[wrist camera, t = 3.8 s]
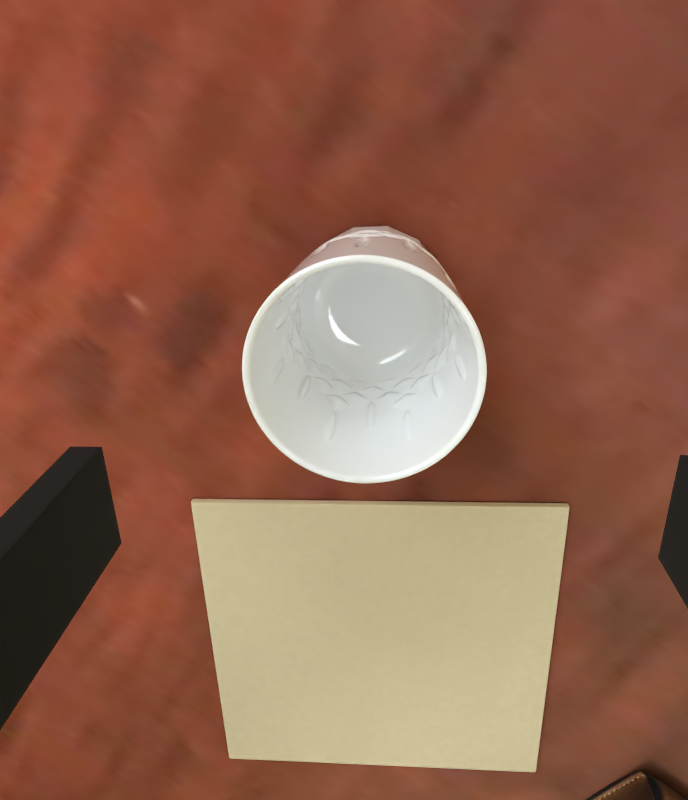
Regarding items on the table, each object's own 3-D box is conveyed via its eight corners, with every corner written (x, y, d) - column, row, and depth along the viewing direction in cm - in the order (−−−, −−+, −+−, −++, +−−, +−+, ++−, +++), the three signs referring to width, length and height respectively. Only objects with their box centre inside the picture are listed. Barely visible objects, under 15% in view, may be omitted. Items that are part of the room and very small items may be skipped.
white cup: (493, 308, 29) (537, 393, 20) (364, 407, 32) (351, 522, 23) (383, 172, 27) (376, 198, 18) (254, 289, 30) (191, 364, 21)
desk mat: (230, 753, 43) (229, 758, 43) (192, 498, 35) (190, 502, 35) (534, 766, 41) (535, 772, 41) (567, 503, 33) (569, 507, 33)
